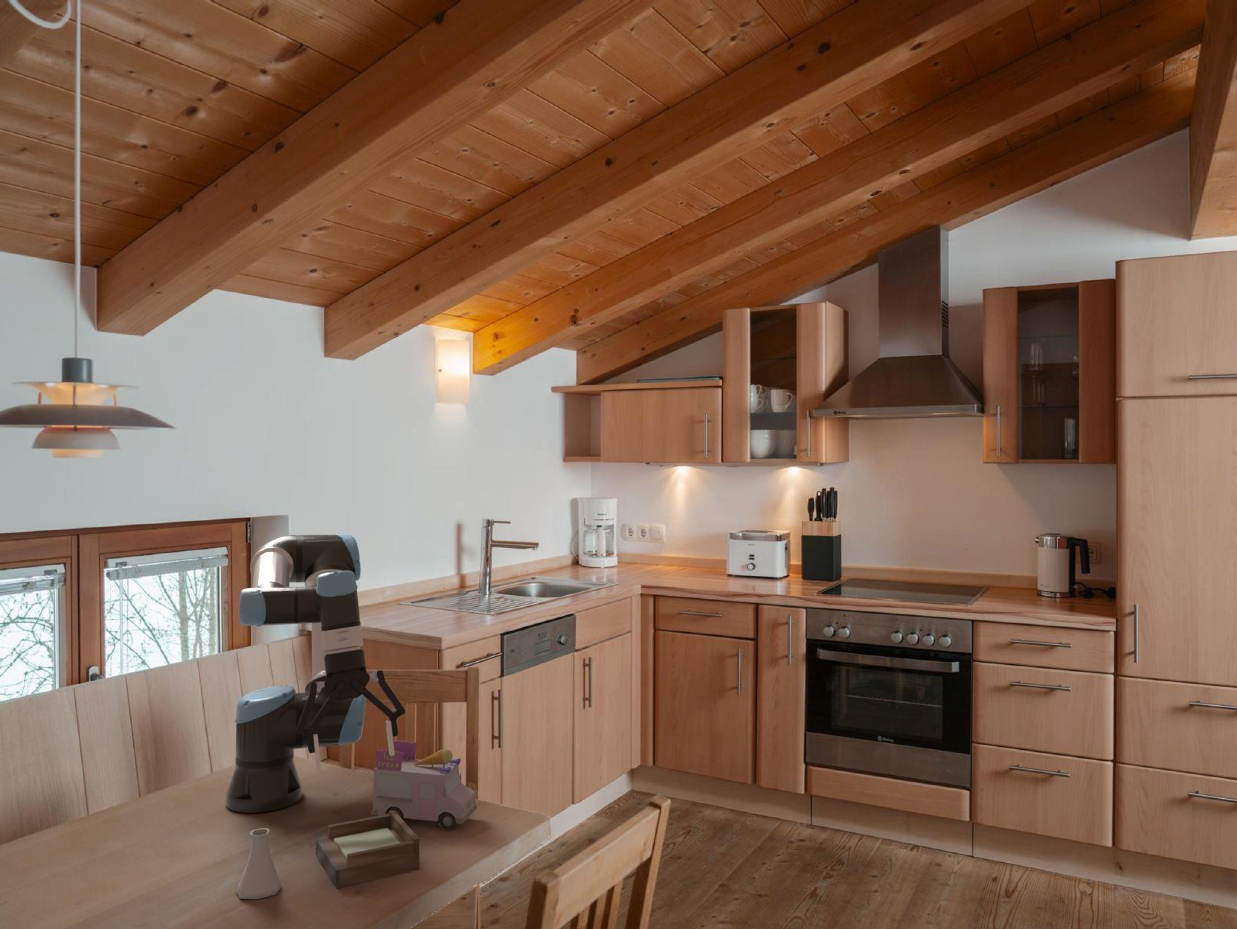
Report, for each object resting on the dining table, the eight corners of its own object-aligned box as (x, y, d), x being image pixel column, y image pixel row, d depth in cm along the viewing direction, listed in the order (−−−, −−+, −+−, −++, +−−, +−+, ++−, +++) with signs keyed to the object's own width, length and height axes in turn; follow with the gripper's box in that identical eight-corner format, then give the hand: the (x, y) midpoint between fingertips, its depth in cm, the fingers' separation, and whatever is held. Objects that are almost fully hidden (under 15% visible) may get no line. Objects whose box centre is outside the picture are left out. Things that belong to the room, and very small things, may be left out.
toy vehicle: (461, 835, 177) (462, 758, 177) (368, 825, 181) (370, 750, 181) (477, 817, 186) (479, 744, 186) (389, 808, 190) (390, 736, 190)
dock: (315, 854, 167) (316, 824, 167) (393, 838, 174) (394, 810, 174) (335, 888, 154) (336, 856, 154) (419, 869, 162) (419, 838, 162)
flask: (280, 898, 150) (281, 838, 150) (233, 903, 148) (234, 842, 148) (283, 878, 157) (284, 821, 157) (238, 883, 155) (239, 825, 155)
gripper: (275, 661, 169) (287, 778, 166) (410, 640, 178) (424, 750, 175) (275, 661, 176) (286, 773, 172) (405, 640, 185) (418, 746, 182)
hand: (356, 762), depth 174 cm, fingers open, 13 cm apart
